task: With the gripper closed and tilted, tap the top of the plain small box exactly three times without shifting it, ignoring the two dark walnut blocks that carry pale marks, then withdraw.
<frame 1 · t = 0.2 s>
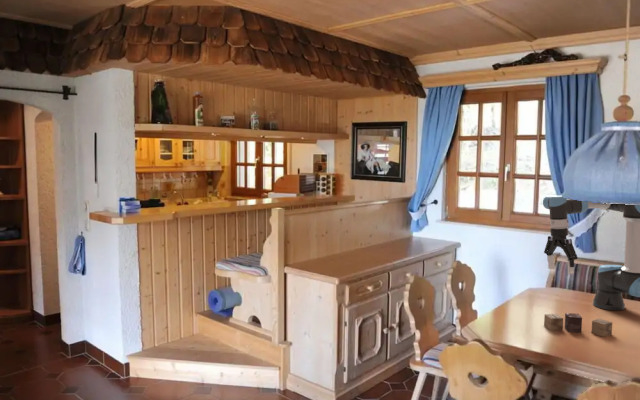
hand: (560, 271, 239), 27 cm above the table, tool pointing down, fingers open, 13 cm apart
box: (572, 330, 236), on the table
marked block one: (601, 333, 231), on the table
marked block two: (553, 328, 238), on the table
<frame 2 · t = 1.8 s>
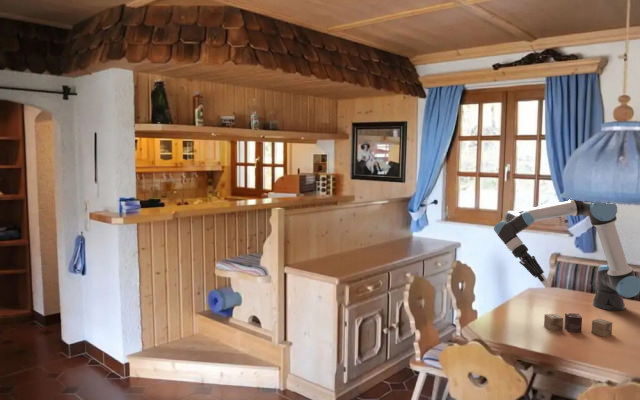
hand: (548, 286, 242), 19 cm above the table, tool tilted 45°, fingers closed
nothing on the table moved.
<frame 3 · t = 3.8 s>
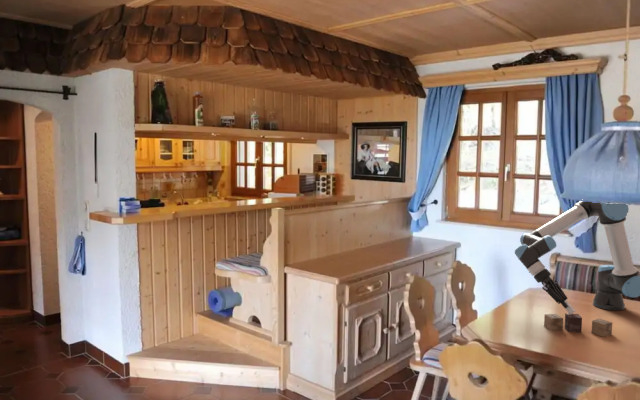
hand: (572, 313, 235), 8 cm above the table, tool tilted 45°, fingers closed
box: (572, 330, 236), on the table, touching gripper
everything else where it was.
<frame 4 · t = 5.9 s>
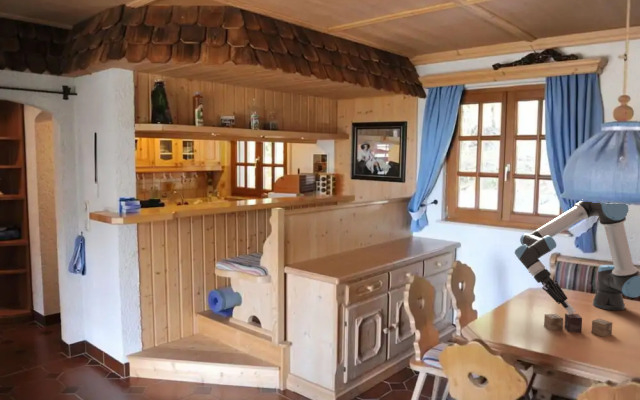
hand: (572, 313, 235), 8 cm above the table, tool tilted 45°, fingers closed
nothing on the table moved.
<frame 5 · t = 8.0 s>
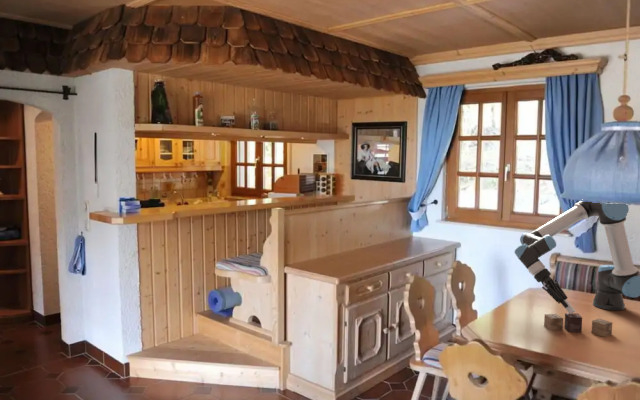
hand: (572, 312, 235), 9 cm above the table, tool tilted 45°, fingers closed
nothing on the table moved.
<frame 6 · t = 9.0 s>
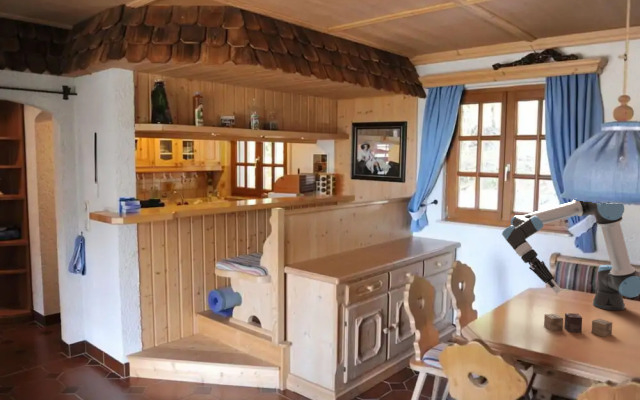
hand: (559, 292, 239), 17 cm above the table, tool tilted 45°, fingers closed
box: (572, 330, 236), on the table
everything else where it was.
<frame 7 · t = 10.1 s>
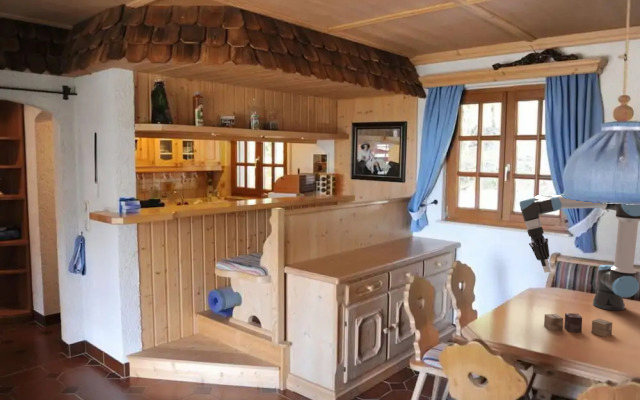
hand: (547, 271, 255), 23 cm above the table, tool tilted 20°, fingers closed
nothing on the table moved.
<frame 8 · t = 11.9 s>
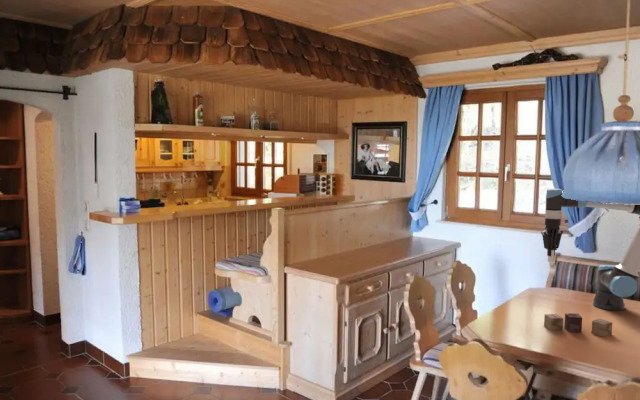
hand: (550, 261, 262), 26 cm above the table, tool pointing down, fingers closed
nothing on the table moved.
at the end: box moved 0.3 cm from its start; box tilted 0°; box touching table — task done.
